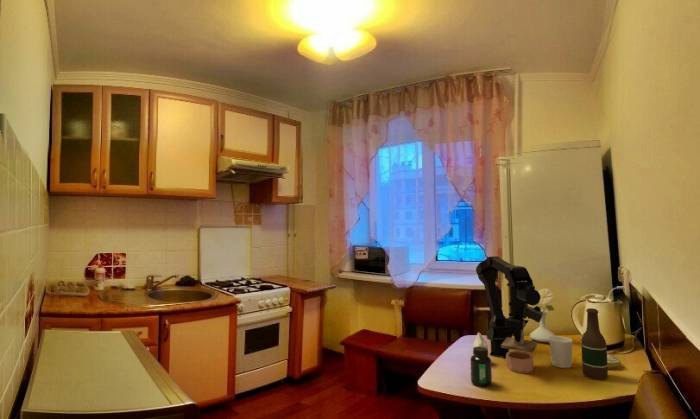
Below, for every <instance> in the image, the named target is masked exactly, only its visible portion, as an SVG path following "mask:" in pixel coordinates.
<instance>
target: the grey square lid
mask: <svg viewBox="0 0 700 419" xmlns="http://www.w3.org/2000/svg"><path fill="white" fill-rule="evenodd" d="M524 335H525V333H524V331H523V332H521V338H520V342H517V341H516V339H515V337H514V336H513V337H512V338H509V337H507V338H506V339H505V340H504V342H503V343H502V344H501V348H506V349H509V350H512V351H519V352H526V353H530V354H533V353H534V352H535V350H536V347H537V346H538V341H535V340H528V339H525V336H524Z"/></svg>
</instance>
